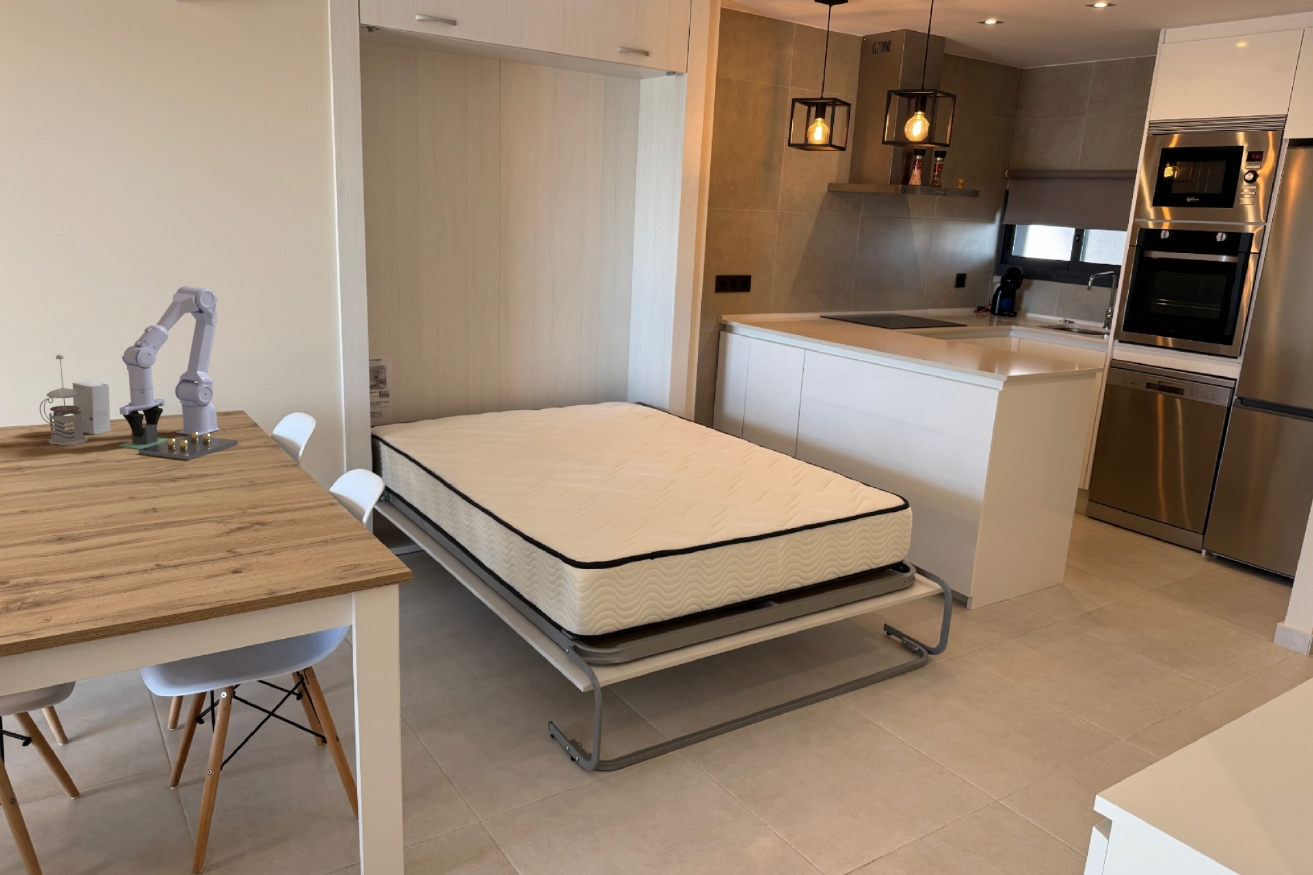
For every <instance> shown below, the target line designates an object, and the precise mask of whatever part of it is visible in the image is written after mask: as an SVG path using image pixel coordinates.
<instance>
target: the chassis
mask: <svg viewBox="0 0 1313 875" xmlns="http://www.w3.org/2000/svg"><path fill="white" fill-rule="evenodd" d="M166 439H167V442H164V443H160V444H157V445H153V446H150V447H146V448H143V449H138V455H145V456H152V457H159V458H167V459H175V460H180V461H181V460H182V461H191V460H193V459H197V458H200V457H203V456H206V455H209V454H212V453H213V454H214V453H215V452H218V451H219V452H220V451H221V450H222V451H223V450H224V449H229V448H232V447H234V446H238V444H239V442H238V440H236V439H229V438H228V439H227V438H219V437H211V432H210V433H204V434H202V435H200V436H199V435H198V432H191V435H188V434H187V435H186V436H181V437H177V438H172V437H171V438H166Z"/></svg>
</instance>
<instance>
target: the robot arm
mask: <svg viewBox="0 0 1313 875" xmlns="http://www.w3.org/2000/svg"><path fill="white" fill-rule="evenodd" d="M217 304H218V297H217V296H216V295H215V293H214V292H213V291H212V290H211V289H210V288H205V287H204V288H201V287H194V286H192V287H191V286H190V287H189V286H188V285H183V286H180V287H179V288H178V289H177V291H176V293H174V294H173V296H172V301H171V303H170V305H169V306H168V307H167V309H166V310H165V312H164V313H163V314H162V316H161V317H160V318H159V320H158V322H157V324H154V325H153V324H151V325H149V326H147V327H145V329H144V330H143V331H144V332H143V333H142V335H141V336H140V337H139V338H138V339H137V340H135V342H134V344H133V345H131V346H128V347H127V348H126V349H125V350H124V351H123V352H124V353H123V355H122V356H121V359H122V362H123V363H124V364H125V365H126V370H127V372H128V384H129V394H130V401H129V402H128V404H125V405H124V406H120V407H119V415H122V417H124V419H125V420H126V421H127V422H126V423H128V425H129V428H130V429H132V430H131V433H132V432H133V435H134V436H135V437H142V423H144V422H143V421H144V419H145V424H153V425H157V426H158V423H159V420H160V417H161V416H162V414H163V412H164V409H163V408H162V407H165V406H166V401H165V399H164V398H158V399H157V398H156V399H154V398H155V397H154V388H153V387H154V386H153V374H152V366H153V365H154V364H155V363H156V361H157V354H158V351H159V350H160V349H161V348H162V346H164V344H165V343H166V341H168V339H169V331H170V330H171V329H172V328H173V327H174V326H175V325H176V324H177V323H178V322H179V320H180V319H181V318H182V317H183V316H184V315H185V314H189V313H190V314H191V315H192V316H193V318H194V320H195V325H194V331H193V336H192V342H191V346H190V352H189V358H188V365H187V370H186V371H185V372H184V373H182V374H181V375H180V377H179V381H178V383H177V384H176V386H175V388H174V393H175V394H174V395H175V397H176V398H177V399H178V400H179V402H180V404H181V412H182V413H181V414H182V429H181V430H178V431H176V434H181V435H182V434H183V435H187V436H188V435H191V432H198V435H199V436H203V435H202V434H204V433H210V434H211V433H213V432H216V431H217V432H218V431H219V430H220V429H221V428H219V427H218V416H217V409H216V406H215V404H213V402H212V400H213V397H214V389H213V384H214V381H213V379H212V378H211V377H210V376H209V375H208V371H209V365H210V361H211V360H210V359H211V353H212V350H213V349H212V348H213V343H214V337H215V332H216V326H217V321H218V313H217ZM141 411H142V413H140V412H141Z"/></svg>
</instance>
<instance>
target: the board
mask: <svg viewBox="0 0 1313 875" xmlns="http://www.w3.org/2000/svg"><path fill="white" fill-rule="evenodd" d="M130 429H131V428H130ZM167 439H168V438H165V437H159V436H158V424H157V425H153V424H146V422H145V423H144V422H142V437H135V436H134V435H133V432H132V429H131V441H130V442H125V443H121V444H118V448H126V449H132V450H139V449H143V448H146V447H150V446H153V445H157V444H160V443H164V442H167Z"/></svg>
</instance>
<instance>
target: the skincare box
mask: <svg viewBox="0 0 1313 875" xmlns="http://www.w3.org/2000/svg"><path fill="white" fill-rule="evenodd" d="M72 390H76V391H78V392H79V393H80V396H77V397H72V400H73V402H72V405H75V406H79V407H80V408H79V409H78V410H75V411H80V412H81V415H82V426H83V434H90V435H99V434H103V433H109V432H111V410H110V386H109V384H107V383H103V382H100V381H93V380H84V381H75V382H72ZM73 415H75V414H73Z"/></svg>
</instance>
